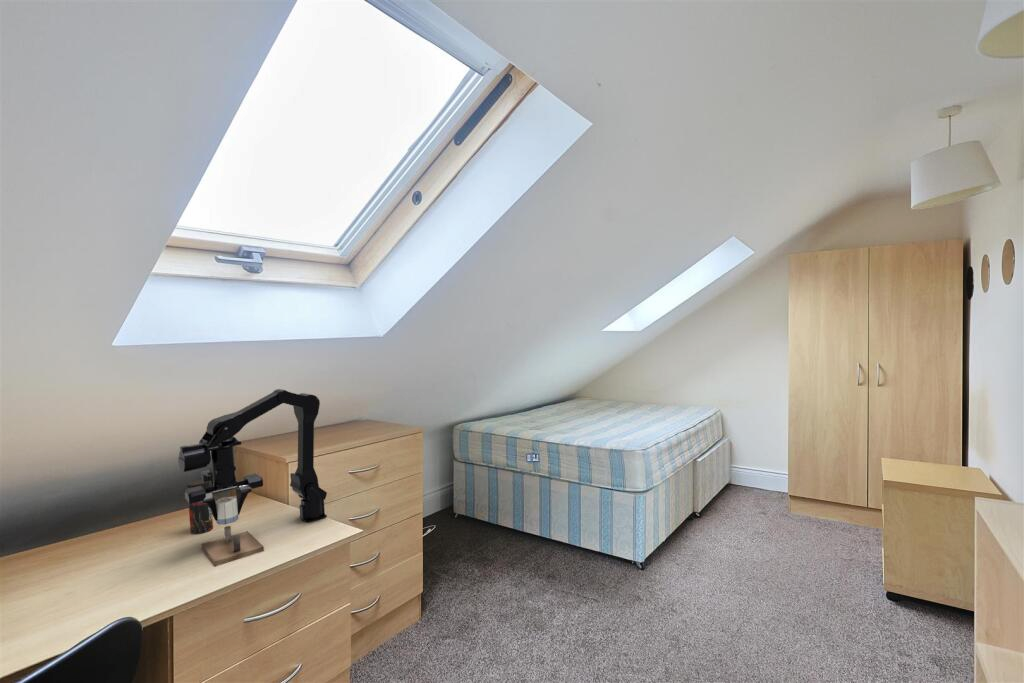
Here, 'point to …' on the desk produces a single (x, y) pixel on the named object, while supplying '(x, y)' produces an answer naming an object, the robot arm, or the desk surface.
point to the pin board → (231, 547)
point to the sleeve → (226, 510)
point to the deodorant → (199, 512)
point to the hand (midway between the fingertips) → (227, 517)
